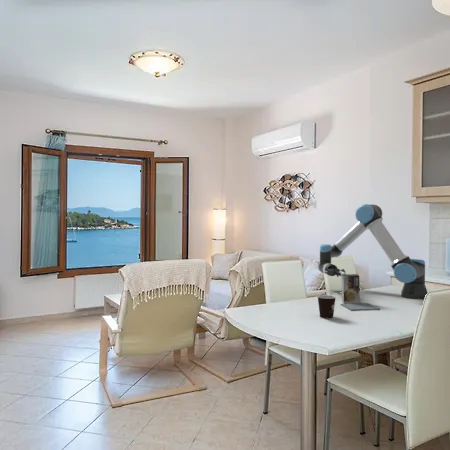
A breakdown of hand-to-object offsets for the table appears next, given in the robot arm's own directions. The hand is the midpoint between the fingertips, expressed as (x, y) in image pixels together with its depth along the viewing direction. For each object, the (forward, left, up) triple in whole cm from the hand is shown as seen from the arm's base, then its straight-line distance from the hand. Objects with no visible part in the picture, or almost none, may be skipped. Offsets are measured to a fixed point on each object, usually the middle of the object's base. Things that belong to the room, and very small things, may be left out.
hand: (344, 275), depth 251 cm
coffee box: (0, +9, -15) cm, 17 cm away
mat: (0, +21, -15) cm, 26 cm away
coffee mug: (+24, +40, -15) cm, 49 cm away
